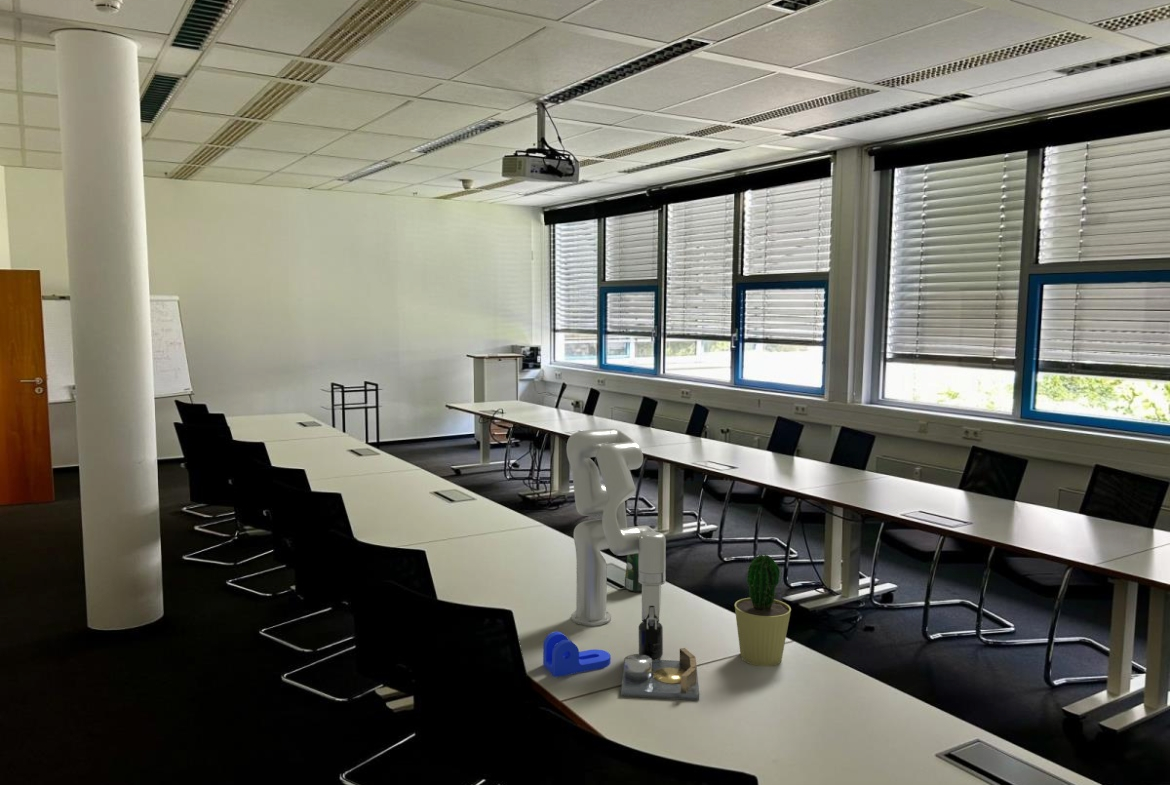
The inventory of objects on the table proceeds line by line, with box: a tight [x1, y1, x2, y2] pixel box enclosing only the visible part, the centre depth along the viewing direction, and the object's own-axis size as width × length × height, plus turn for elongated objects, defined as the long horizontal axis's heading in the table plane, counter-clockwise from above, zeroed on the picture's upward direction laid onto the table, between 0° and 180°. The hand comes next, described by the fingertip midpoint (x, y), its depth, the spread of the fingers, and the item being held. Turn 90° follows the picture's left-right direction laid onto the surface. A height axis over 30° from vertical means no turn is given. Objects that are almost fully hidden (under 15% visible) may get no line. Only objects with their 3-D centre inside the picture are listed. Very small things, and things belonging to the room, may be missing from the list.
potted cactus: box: [734, 553, 792, 667], centre depth 226 cm, size 15×15×30 cm
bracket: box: [542, 631, 611, 678], centre depth 221 cm, size 18×8×9 cm, turn 115°
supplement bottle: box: [638, 617, 664, 660], centre depth 228 cm, size 7×7×12 cm
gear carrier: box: [620, 647, 700, 701], centre depth 212 cm, size 20×20×6 cm
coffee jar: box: [624, 553, 642, 593], centre depth 284 cm, size 10×8×19 cm
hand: (651, 636), depth 227 cm, fingers open, 9 cm apart
